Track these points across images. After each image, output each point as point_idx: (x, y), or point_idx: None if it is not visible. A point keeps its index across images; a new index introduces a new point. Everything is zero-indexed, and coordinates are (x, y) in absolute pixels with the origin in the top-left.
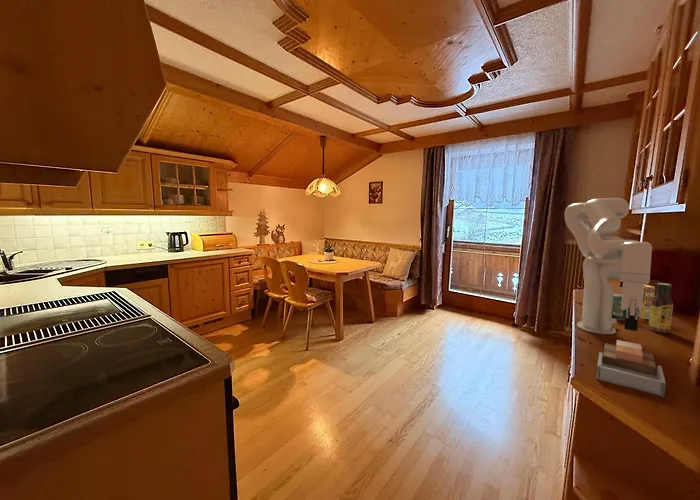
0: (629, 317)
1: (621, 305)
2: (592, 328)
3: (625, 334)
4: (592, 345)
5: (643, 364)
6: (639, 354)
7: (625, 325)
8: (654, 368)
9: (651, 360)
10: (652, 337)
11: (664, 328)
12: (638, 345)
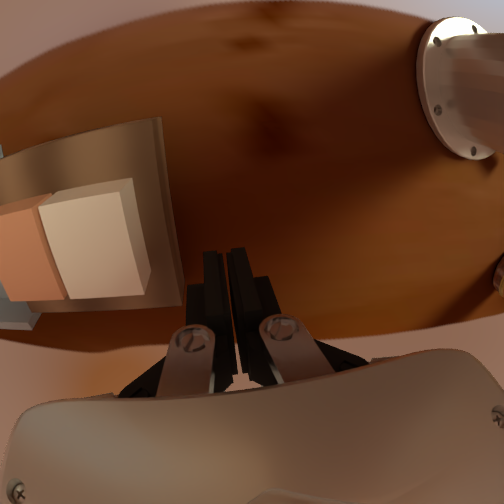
0: (162, 364)
1: (78, 458)
2: (441, 65)
3: (461, 189)
4: (208, 57)
5: None
6: (13, 293)
7: (205, 270)
8: (30, 307)
9: (82, 304)
10: (460, 260)
11: (500, 288)
12: (117, 287)
